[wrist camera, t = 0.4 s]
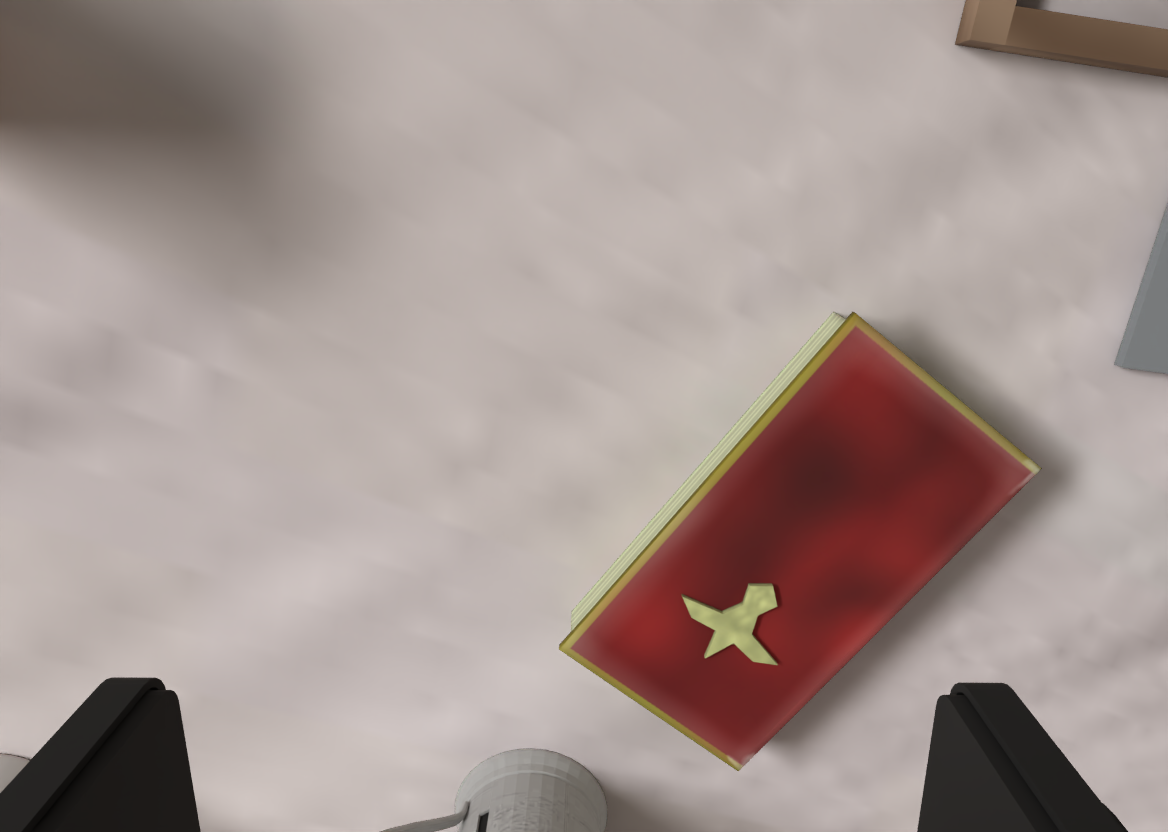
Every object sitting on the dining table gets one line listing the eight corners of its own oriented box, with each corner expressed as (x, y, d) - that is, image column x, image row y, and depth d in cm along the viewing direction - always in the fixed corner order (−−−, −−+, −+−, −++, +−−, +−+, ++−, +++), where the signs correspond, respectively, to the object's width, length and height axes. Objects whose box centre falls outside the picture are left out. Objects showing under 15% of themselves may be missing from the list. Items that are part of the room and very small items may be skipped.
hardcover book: (1006, 445, 42) (1051, 476, 38) (731, 726, 47) (745, 779, 43) (830, 298, 40) (857, 314, 36) (561, 608, 45) (558, 652, 41)
